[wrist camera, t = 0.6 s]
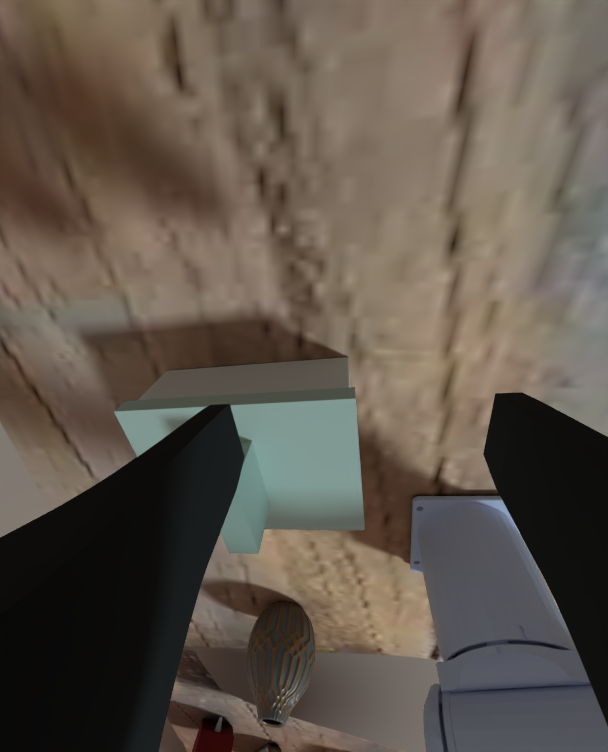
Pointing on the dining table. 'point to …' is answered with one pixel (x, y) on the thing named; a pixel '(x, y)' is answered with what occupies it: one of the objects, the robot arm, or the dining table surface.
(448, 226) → the dining table surface
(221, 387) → the tub
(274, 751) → the tin
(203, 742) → the alarm clock
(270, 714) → the vase
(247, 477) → the lid
